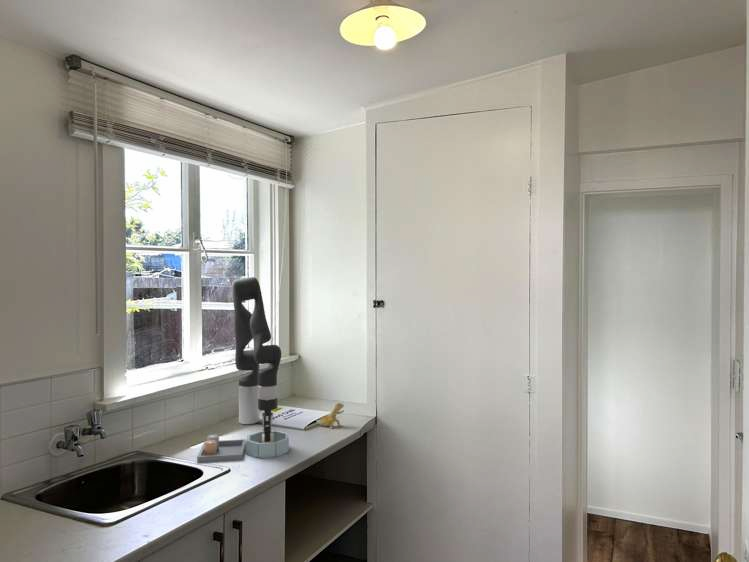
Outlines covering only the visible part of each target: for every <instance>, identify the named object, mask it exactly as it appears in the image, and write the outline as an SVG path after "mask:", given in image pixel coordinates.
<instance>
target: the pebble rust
mask: <svg viewBox="0 0 749 562" xmlns="http://www.w3.org/2000/svg"><path fill="white" fill-rule="evenodd" d="M204 442H205V441H204ZM204 442H203V444H204V451H205V456H208V455H217V441H215V440H209V441H207V440H206V442H205V443H204Z"/></svg>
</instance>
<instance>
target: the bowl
mask: <svg viewBox="0 0 749 562" xmlns="http://www.w3.org/2000/svg"><path fill="white" fill-rule="evenodd" d="M263 433H264V431H263V430H260V431H256V432H253V433H250V434H248V435H247V436H246V446H245V453H246V455H248V456H250V457H253V458H260V459H266V458H267V459H268V458H275V457H276V458H277V457H281V456H283V455H285V454H287V453H288V452H289V451H290V446H289V445H290V444H289V439H290V437H289V435H290V434H289V433H288V432H285V431H281V430H276V429H274V430H271V433H273V434H274V442H268V443H262V434H263Z"/></svg>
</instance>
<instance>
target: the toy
mask: <svg viewBox="0 0 749 562" xmlns="http://www.w3.org/2000/svg"><path fill="white" fill-rule="evenodd" d="M344 405H345V404H343V403H342V402H338V403H336V404H335V406H334V408H333V409H332V411H331V412H330V415H329V416H324V417H322V418H320V419H317V420H316V423H317V424H318V425H319V426H321V427H329V428H330V430H332V429H334V427H333V426H334V423H337V426H338V427H342V425H341V424H340V420H339V419H337V414H338V415H339V414H340V415H341V414H342V413H344V412H345V411H344V410H342V409H343V408H344V407H345V406H344ZM340 410H341V411H340Z"/></svg>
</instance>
